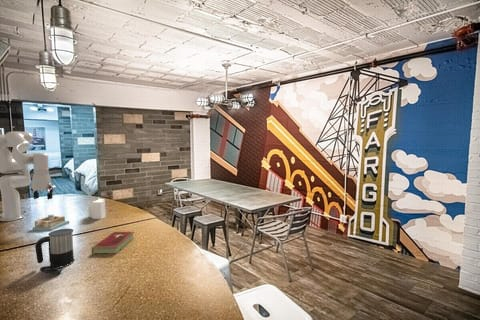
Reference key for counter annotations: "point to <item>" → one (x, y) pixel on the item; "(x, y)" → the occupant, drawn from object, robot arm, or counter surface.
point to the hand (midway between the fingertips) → (43, 198)
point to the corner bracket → (97, 209)
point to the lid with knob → (51, 227)
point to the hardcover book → (113, 242)
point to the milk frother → (56, 250)
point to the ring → (46, 223)
